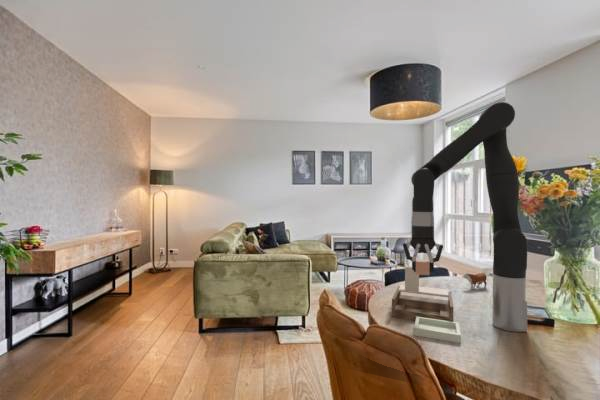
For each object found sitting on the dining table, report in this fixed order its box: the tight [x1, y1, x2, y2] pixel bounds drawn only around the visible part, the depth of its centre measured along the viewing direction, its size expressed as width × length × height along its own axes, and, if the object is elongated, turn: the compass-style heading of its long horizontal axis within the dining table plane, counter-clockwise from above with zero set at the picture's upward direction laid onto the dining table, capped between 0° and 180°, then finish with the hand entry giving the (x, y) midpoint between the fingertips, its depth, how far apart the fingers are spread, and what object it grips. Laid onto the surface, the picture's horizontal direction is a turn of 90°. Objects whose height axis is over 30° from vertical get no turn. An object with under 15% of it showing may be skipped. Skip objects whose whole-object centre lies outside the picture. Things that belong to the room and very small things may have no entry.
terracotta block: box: [416, 258, 431, 276], centre depth 114 cm, size 4×4×4 cm
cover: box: [399, 265, 449, 298], centre depth 124 cm, size 18×8×10 cm, turn 67°
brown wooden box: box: [391, 285, 454, 322], centre depth 120 cm, size 20×20×6 cm
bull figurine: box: [462, 271, 488, 291], centre depth 156 cm, size 4×13×8 cm, turn 107°
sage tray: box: [413, 316, 462, 344], centre depth 102 cm, size 13×11×2 cm
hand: (422, 272), depth 114 cm, fingers closed on terracotta block, 4 cm apart
